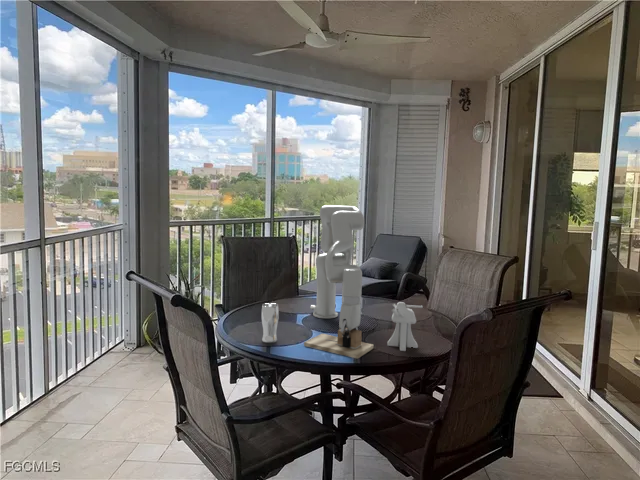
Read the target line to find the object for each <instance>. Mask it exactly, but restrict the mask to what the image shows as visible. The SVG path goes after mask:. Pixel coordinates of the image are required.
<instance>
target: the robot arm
mask: <svg viewBox="0 0 640 480" xmlns="http://www.w3.org/2000/svg"><path fill="white" fill-rule="evenodd" d="M319 217H320V222H321V226H322V227H321V235H320V250H321V251H322V253H320V254H318V255H317V256H316V258H315V267H316V305H315V304H310V308H309V310H313V312H312V316H313V317H314V318H319V319H335V318H337V317H338V316H339V321H338V324H339V325H338V327H339V330H340V329H341V330H340V332H341V333H342V337H343V345H342V346H343V347H348V348H350V344H351V338H350V332H351V330H352V329H355V330H359V326H360V324H361V319H362V317H361V316H362V313H361V305H362V286H363V271H362V269H361V268H360V266H359V265H358V264H357V265H356V264H352V258H353V251H354V235H353V231H362V230H363V228H364V226H365V217H364V214H363V213H362V210H360V209H359V208H358V207H357V206H355V205H341V204H340V205H337V204H335V205H334V204H330V205H329V204H327V205H326V204H325V205H323V206H320V208H319ZM337 284H342V286H341V287H342V288H341V289H342V290H341V307H340V312H339V313H338V312H337V311H336V292H337V290H336V289H337ZM346 328H348V329H346ZM346 331H348V333H347V332H346Z"/></svg>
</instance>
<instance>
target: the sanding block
mask: <svg viewBox="0 0 640 480" xmlns="http://www.w3.org/2000/svg"><path fill="white" fill-rule="evenodd" d="M346 329H348V328H347V327H346ZM340 330H341V329H340V328H339V329H338V330H337V337H338V340H337V345H339V346H342V345H343V337H342V333H341V332H340ZM346 332H347V333H348V331H346ZM362 335H363V333H362V330H360V329H358V330H355V329H352V330H351V332H350V338H351V344H350V348H352V349H357V348H358V347H360V346H361V342H362Z"/></svg>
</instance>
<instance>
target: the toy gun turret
mask: <svg viewBox="0 0 640 480" xmlns="http://www.w3.org/2000/svg"><path fill="white" fill-rule="evenodd" d="M392 307H394V308H392V309H391V310H390V311H391V312H392V316H391V321H392V322H393V323H395V329H394V330H393V333H392V334H391V336H390V338H389V340H387V342H386V343H387V345H386V346H388V347H389V346H390V347H399V351H401V352H406V350H407V348H411V347H413V348H415V349H418V348H419V345H418V344H419V343H418V342H417V341H416V340H415V337H414V336H413V333H412V328H411V327H412V325H415V324H416V323H417V317H416V315H415V311H413V309H412V308H420V309H423V307H424V306H423V305H414V304H413V305H412V304H406V303H405V302H403V301H399V302H397V304H396V303H395V302H394V303H392Z"/></svg>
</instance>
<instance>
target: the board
mask: <svg viewBox="0 0 640 480" xmlns="http://www.w3.org/2000/svg"><path fill="white" fill-rule="evenodd" d="M337 340H338V336H336V335H330V334H327V333H320V334H318V335H316V336H314V337H312V338H310V339H308V340H306V341H304V342H303V347H308V348H311V349H316V350H319V351H325V352H329V353H333V354H337V355H339V356H340V355H341V356H345V357H348V358H352V359H359V358H361V357H362V356H364V355H366V354H367V353H369V352H370V351H372V350H373V349H374V348H375V347H374V344H373V343H367V342H364V341H361V346H360V347H358V348H357V349H352V348H348V347H343V346H339V345H337Z"/></svg>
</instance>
